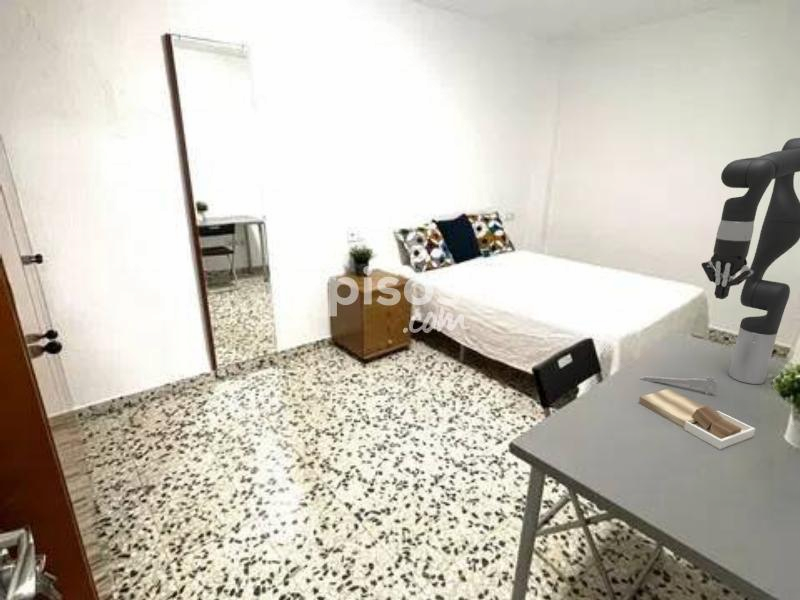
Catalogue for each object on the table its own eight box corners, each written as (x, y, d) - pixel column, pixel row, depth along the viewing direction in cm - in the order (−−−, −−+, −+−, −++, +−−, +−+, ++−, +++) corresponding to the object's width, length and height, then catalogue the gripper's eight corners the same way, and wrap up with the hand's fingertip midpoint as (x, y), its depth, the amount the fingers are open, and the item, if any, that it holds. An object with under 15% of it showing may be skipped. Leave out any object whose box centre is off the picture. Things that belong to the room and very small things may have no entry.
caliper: (714, 395, 128) (718, 377, 126) (714, 397, 127) (719, 378, 125) (639, 378, 139) (642, 361, 137) (639, 380, 138) (642, 363, 136)
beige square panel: (667, 394, 129) (668, 388, 128) (713, 417, 116) (715, 411, 115) (639, 402, 124) (640, 396, 124) (684, 428, 112) (685, 421, 111)
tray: (716, 418, 116) (718, 410, 115) (753, 436, 108) (755, 428, 107) (683, 429, 112) (685, 421, 111) (719, 449, 103) (721, 441, 103)
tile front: (720, 428, 111) (723, 418, 110) (739, 438, 107) (741, 428, 106) (709, 432, 109) (711, 422, 108) (727, 442, 105) (730, 432, 104)
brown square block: (702, 412, 115) (708, 405, 113) (717, 425, 111) (723, 418, 110) (691, 416, 113) (697, 409, 111) (706, 429, 110) (712, 422, 108)
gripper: (770, 239, 107) (755, 302, 112) (717, 233, 119) (705, 290, 124) (752, 242, 104) (737, 306, 110) (699, 235, 116) (688, 293, 121)
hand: (720, 298), depth 117 cm, fingers closed
